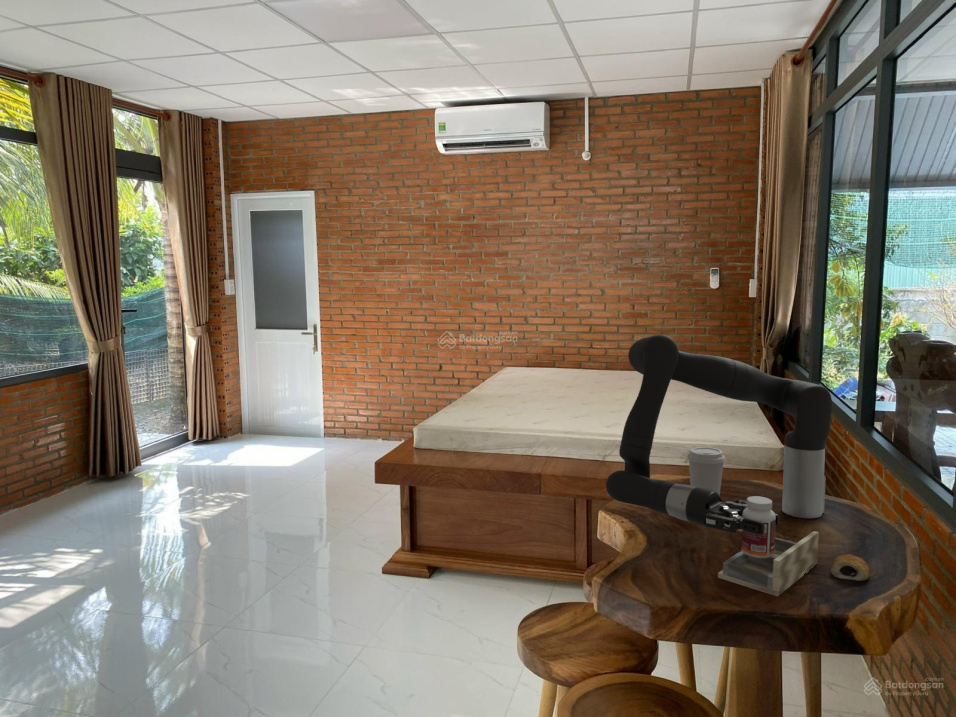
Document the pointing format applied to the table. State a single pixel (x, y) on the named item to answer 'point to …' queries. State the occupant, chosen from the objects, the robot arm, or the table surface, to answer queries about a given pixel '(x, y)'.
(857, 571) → the pastry
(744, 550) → the pill bottle
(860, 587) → the table surface
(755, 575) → the bottle rack
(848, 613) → the table surface
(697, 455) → the coffee cup
